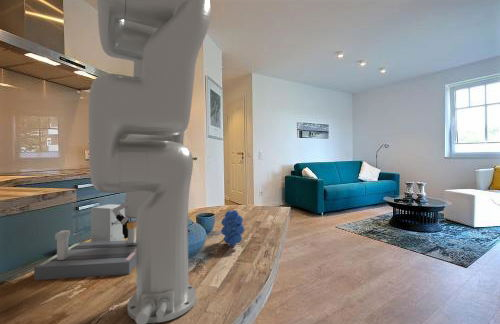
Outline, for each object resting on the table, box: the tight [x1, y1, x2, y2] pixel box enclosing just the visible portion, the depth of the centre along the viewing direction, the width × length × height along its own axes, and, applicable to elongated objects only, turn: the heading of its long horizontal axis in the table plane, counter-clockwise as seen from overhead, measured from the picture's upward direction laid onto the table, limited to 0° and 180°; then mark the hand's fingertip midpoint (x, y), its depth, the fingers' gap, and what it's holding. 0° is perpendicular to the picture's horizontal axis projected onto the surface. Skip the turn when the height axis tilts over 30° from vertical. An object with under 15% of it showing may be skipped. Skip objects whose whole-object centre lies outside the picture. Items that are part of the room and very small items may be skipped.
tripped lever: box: [126, 220, 136, 245], centre depth 71 cm, size 3×2×6 cm
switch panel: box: [33, 229, 137, 281], centre depth 66 cm, size 17×21×10 cm
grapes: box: [220, 209, 245, 247], centre depth 79 cm, size 12×7×12 cm, turn 38°
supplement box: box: [90, 203, 126, 242], centre depth 81 cm, size 7×7×13 cm
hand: (144, 236), depth 71 cm, fingers open, 9 cm apart
